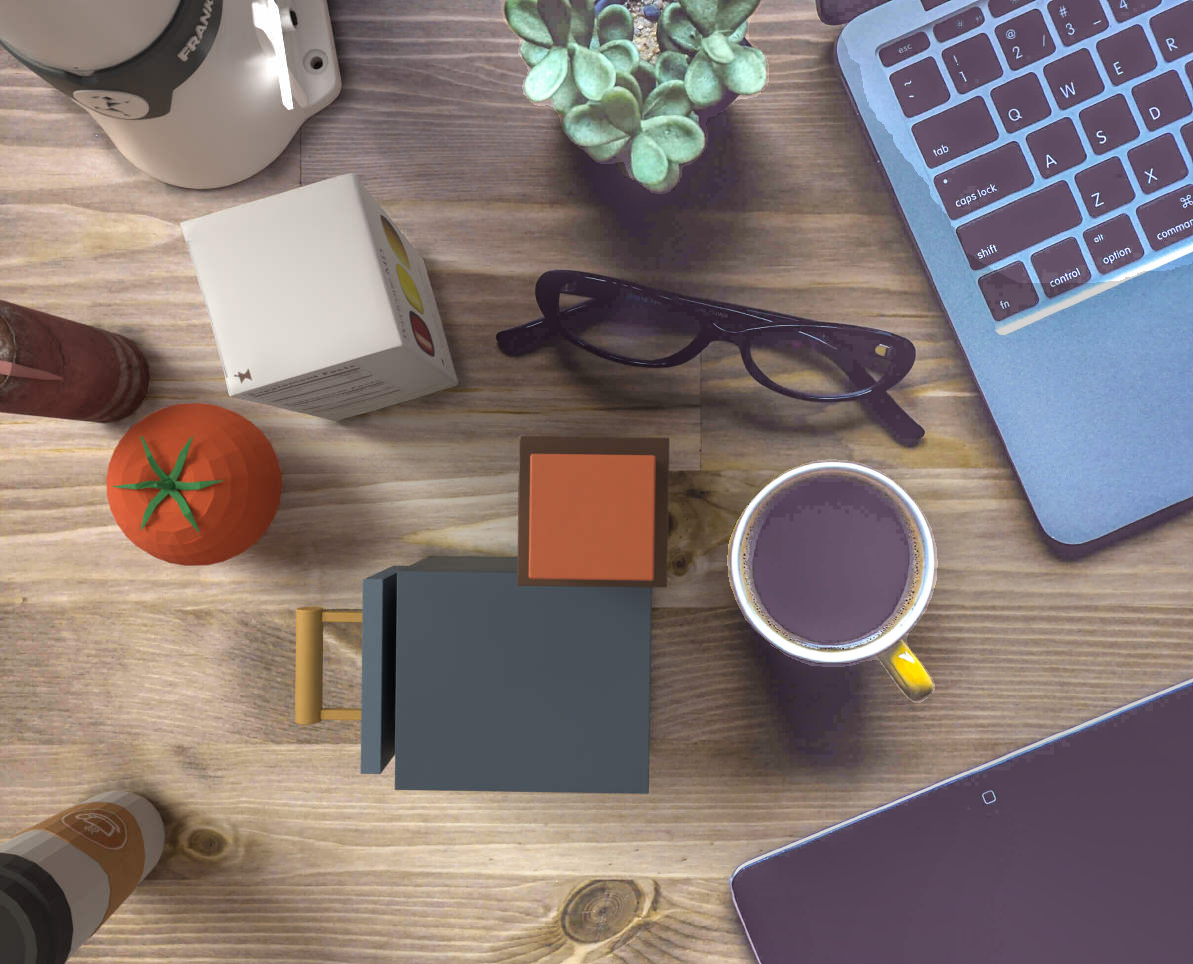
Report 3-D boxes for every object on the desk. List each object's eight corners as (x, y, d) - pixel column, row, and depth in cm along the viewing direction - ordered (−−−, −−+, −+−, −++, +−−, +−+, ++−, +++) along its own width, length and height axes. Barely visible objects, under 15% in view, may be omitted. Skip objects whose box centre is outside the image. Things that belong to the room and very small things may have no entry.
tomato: (201, 586, 61) (122, 608, 51) (125, 455, 61) (32, 452, 51) (331, 511, 61) (278, 518, 51) (255, 380, 61) (187, 362, 51)
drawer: (320, 734, 60) (278, 772, 52) (321, 564, 60) (280, 577, 52) (592, 738, 60) (591, 777, 52) (595, 568, 60) (594, 582, 52)
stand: (552, 451, 61) (519, 435, 36) (641, 452, 61) (669, 437, 36) (551, 539, 61) (516, 585, 36) (639, 540, 61) (667, 588, 36)
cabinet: (426, 740, 61) (394, 790, 51) (428, 555, 61) (396, 571, 51) (641, 743, 61) (648, 794, 51) (643, 558, 61) (652, 574, 51)
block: (538, 455, 36) (530, 453, 31) (649, 457, 36) (656, 455, 31) (537, 566, 36) (528, 579, 31) (647, 567, 36) (653, 581, 31)
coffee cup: (206, 812, 61) (77, 923, 46) (144, 917, 61) (-4, 1061, 46) (100, 750, 61) (-63, 840, 46) (39, 855, 61) (-144, 979, 46)
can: (148, 432, 61) (13, 419, 47) (57, 413, 61) (-106, 394, 47) (166, 344, 61) (36, 305, 47) (74, 325, 61) (-83, 280, 47)
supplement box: (462, 386, 61) (408, 353, 44) (331, 425, 61) (228, 406, 44) (422, 250, 61) (353, 164, 44) (291, 289, 61) (173, 218, 44)
